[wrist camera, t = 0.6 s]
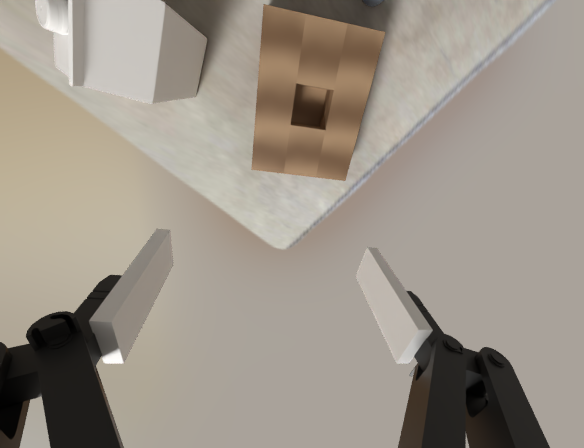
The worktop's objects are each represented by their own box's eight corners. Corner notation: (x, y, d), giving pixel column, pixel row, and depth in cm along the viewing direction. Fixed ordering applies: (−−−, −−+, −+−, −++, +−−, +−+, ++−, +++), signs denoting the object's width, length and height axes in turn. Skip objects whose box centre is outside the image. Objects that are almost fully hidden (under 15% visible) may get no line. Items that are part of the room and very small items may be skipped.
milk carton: (208, 38, 30) (141, -18, 14) (196, 97, 33) (129, 108, 17) (147, 8, 28) (-14, -98, 12) (140, 74, 31) (4, 60, 15)
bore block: (263, 16, 30) (263, 4, 25) (369, 39, 32) (385, 32, 28) (253, 160, 38) (251, 169, 34) (336, 170, 41) (345, 180, 36)
